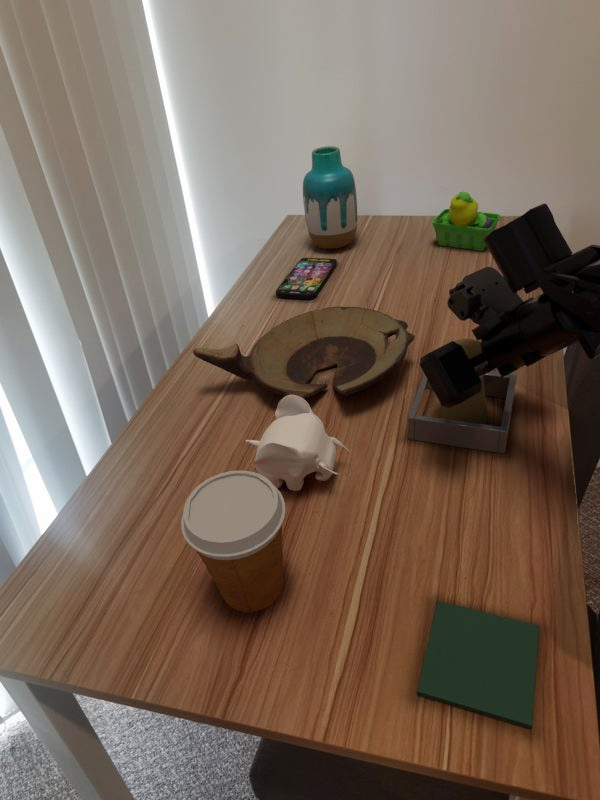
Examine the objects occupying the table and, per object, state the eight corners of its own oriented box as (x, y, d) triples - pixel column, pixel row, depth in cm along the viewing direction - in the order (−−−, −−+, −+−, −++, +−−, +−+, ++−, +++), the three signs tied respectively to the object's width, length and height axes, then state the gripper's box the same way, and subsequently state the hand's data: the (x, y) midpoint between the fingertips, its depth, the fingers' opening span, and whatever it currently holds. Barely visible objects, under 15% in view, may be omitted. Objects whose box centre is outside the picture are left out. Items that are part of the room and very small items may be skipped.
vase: (298, 251, 125) (286, 156, 113) (326, 232, 131) (318, 140, 119) (341, 259, 119) (333, 160, 108) (368, 239, 126) (364, 143, 114)
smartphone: (273, 292, 109) (301, 257, 120) (273, 297, 109) (301, 261, 120) (313, 295, 106) (338, 258, 117) (314, 300, 107) (339, 263, 118)
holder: (514, 395, 80) (516, 374, 77) (504, 454, 71) (507, 431, 69) (426, 385, 84) (426, 364, 81) (408, 439, 75) (407, 417, 73)
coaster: (538, 629, 53) (539, 625, 53) (531, 729, 47) (532, 725, 47) (437, 604, 57) (437, 600, 56) (416, 694, 50) (416, 691, 50)
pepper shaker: (474, 438, 74) (480, 364, 67) (430, 422, 77) (431, 351, 71) (494, 411, 78) (502, 339, 71) (451, 397, 81) (454, 327, 74)
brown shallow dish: (406, 424, 78) (405, 376, 73) (192, 412, 85) (179, 368, 80) (419, 333, 94) (419, 289, 90) (239, 329, 102) (231, 289, 97)
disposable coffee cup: (236, 536, 66) (214, 457, 59) (314, 562, 62) (301, 480, 55) (188, 608, 59) (156, 529, 52) (271, 641, 56) (250, 561, 48)
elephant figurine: (340, 509, 67) (334, 450, 62) (240, 498, 71) (226, 442, 65) (354, 451, 75) (350, 394, 69) (263, 444, 78) (252, 389, 72)
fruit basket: (499, 238, 118) (504, 181, 111) (484, 257, 113) (489, 197, 106) (444, 232, 124) (446, 177, 117) (427, 249, 118) (428, 192, 111)
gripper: (564, 228, 64) (479, 287, 78) (433, 288, 57) (366, 341, 71) (616, 319, 63) (521, 362, 78) (491, 391, 56) (411, 424, 71)
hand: (457, 370), depth 74 cm, fingers open, 9 cm apart
